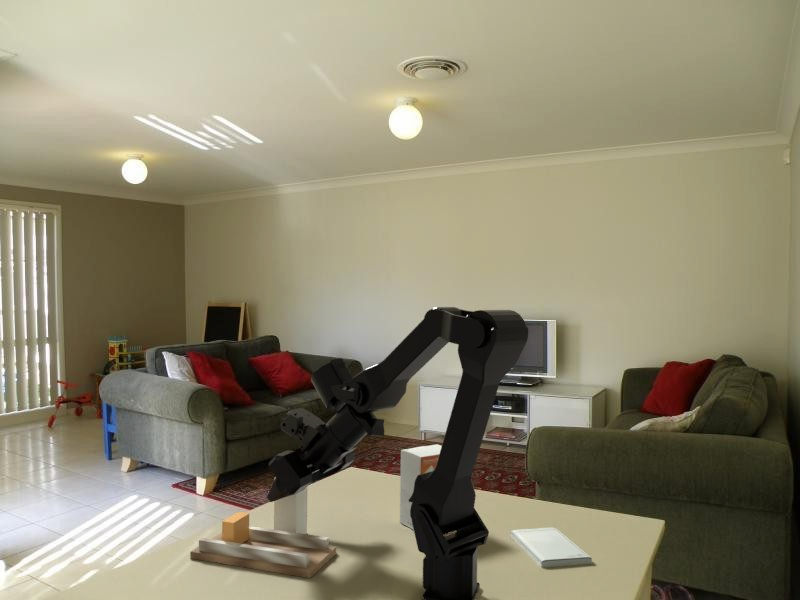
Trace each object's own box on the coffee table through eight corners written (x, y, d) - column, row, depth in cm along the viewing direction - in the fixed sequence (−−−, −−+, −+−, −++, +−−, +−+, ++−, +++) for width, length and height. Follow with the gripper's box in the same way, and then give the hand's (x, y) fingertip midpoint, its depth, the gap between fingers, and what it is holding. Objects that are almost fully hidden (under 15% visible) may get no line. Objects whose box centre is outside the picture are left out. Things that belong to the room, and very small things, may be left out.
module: (306, 533, 106) (307, 473, 105) (295, 541, 102) (296, 480, 102) (285, 530, 107) (286, 471, 107) (273, 538, 103) (274, 477, 103)
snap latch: (249, 538, 100) (249, 513, 99) (233, 549, 95) (233, 522, 95) (238, 537, 100) (238, 511, 100) (222, 547, 96) (222, 521, 96)
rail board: (336, 553, 97) (336, 536, 97) (310, 578, 89) (310, 559, 89) (224, 536, 104) (224, 520, 104) (190, 558, 95) (190, 541, 95)
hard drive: (592, 556, 95) (556, 526, 107) (541, 560, 93) (510, 529, 105) (592, 567, 95) (555, 535, 107) (541, 571, 93) (510, 538, 105)
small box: (419, 534, 106) (420, 456, 105) (398, 522, 111) (399, 448, 111) (457, 525, 110) (458, 450, 110) (435, 514, 115) (436, 443, 115)
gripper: (339, 386, 111) (286, 442, 116) (279, 402, 94) (219, 467, 98) (379, 435, 108) (323, 491, 112) (325, 461, 91) (261, 525, 95)
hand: (283, 492), depth 105 cm, fingers open, 8 cm apart
